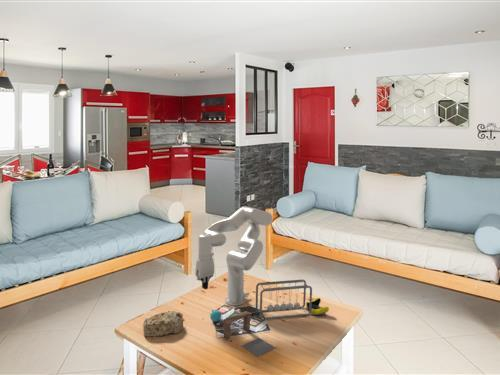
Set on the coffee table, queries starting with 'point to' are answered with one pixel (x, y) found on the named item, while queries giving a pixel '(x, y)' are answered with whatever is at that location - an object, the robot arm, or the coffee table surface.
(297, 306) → the newton's cradle
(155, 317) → the rock
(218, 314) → the ball
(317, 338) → the coffee table surface
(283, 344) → the coffee table surface
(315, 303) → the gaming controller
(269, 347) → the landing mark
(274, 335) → the coffee table surface
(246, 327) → the bridge
